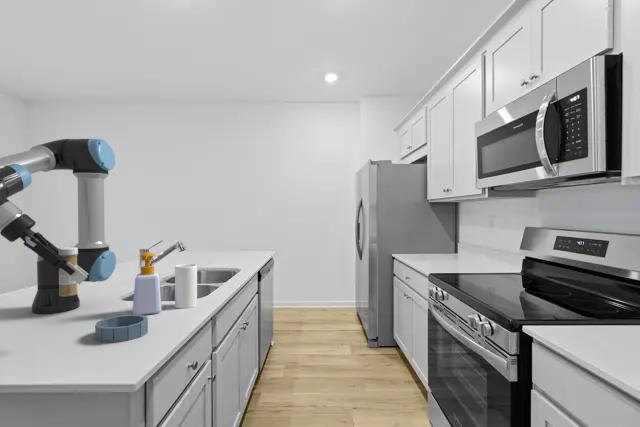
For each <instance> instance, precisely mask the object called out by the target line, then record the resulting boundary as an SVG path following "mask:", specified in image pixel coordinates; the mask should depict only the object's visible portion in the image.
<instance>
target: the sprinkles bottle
mask: <svg viewBox="0 0 640 427" xmlns="http://www.w3.org/2000/svg"><path fill="white" fill-rule="evenodd" d="M58 249H59V248H58ZM77 254H78V248H76V247H74V246H68V247H66V246H65V247H61V248H60V249H59V251H58V255H60V257H62V258H63V259H64V260H66V262H69V263H71V264H72V265H73V266H74V267H76V268H77V269H78V266H77ZM60 269H61V268H60ZM60 269H59V296H73V295H76V294H78V283H77V282H75V281H74V280H73V279H71V278H70V277H69V276H68V275H66V274H65V273H64V272H62V271H61V270H60Z"/></svg>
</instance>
